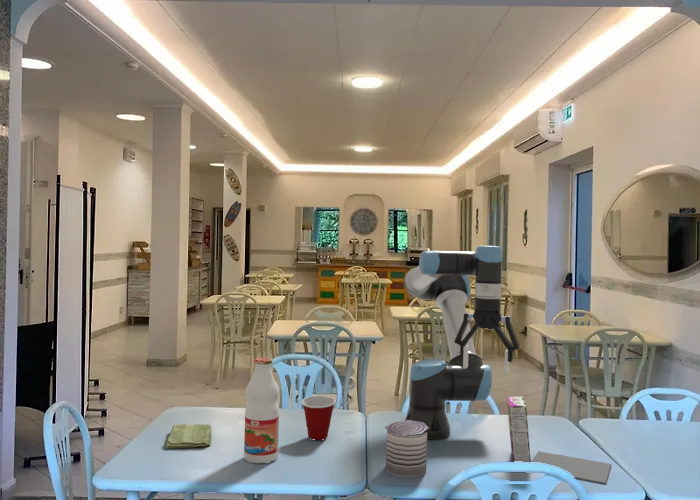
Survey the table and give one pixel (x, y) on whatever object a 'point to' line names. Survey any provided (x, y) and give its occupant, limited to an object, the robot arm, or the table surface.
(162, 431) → the table surface
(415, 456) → the can
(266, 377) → the fruit juice
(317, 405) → the plastic cup
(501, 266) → the robot arm
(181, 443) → the washcloth
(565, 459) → the mat
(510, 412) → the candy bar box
